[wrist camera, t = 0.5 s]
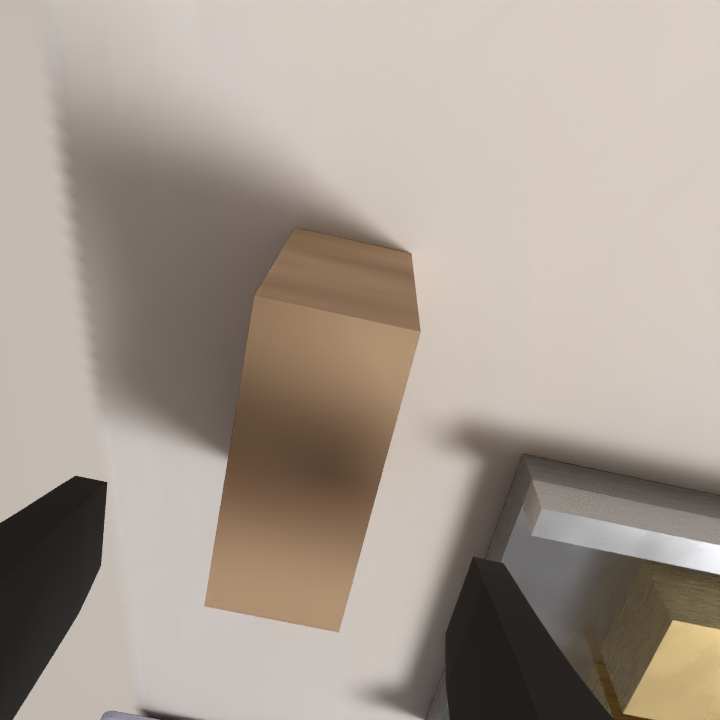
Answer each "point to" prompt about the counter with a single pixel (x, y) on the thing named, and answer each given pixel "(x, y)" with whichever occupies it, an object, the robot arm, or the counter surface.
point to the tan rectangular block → (312, 427)
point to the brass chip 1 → (607, 692)
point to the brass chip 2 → (667, 646)
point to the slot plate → (593, 549)
